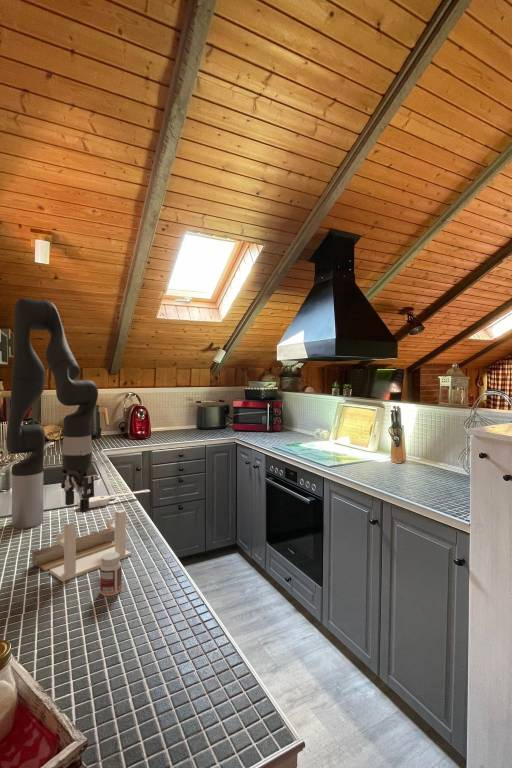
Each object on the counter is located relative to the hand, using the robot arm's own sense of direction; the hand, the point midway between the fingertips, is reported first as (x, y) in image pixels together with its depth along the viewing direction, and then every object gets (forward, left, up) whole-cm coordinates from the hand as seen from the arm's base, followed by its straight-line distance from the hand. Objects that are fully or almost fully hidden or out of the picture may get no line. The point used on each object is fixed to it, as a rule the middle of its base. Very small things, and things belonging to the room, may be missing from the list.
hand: (76, 508), depth 113 cm
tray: (0, 0, -13) cm, 13 cm away
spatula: (-32, +31, -13) cm, 47 cm away
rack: (+9, 0, -13) cm, 16 cm away
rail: (0, 0, -12) cm, 12 cm away
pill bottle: (+25, -4, -13) cm, 29 cm away
